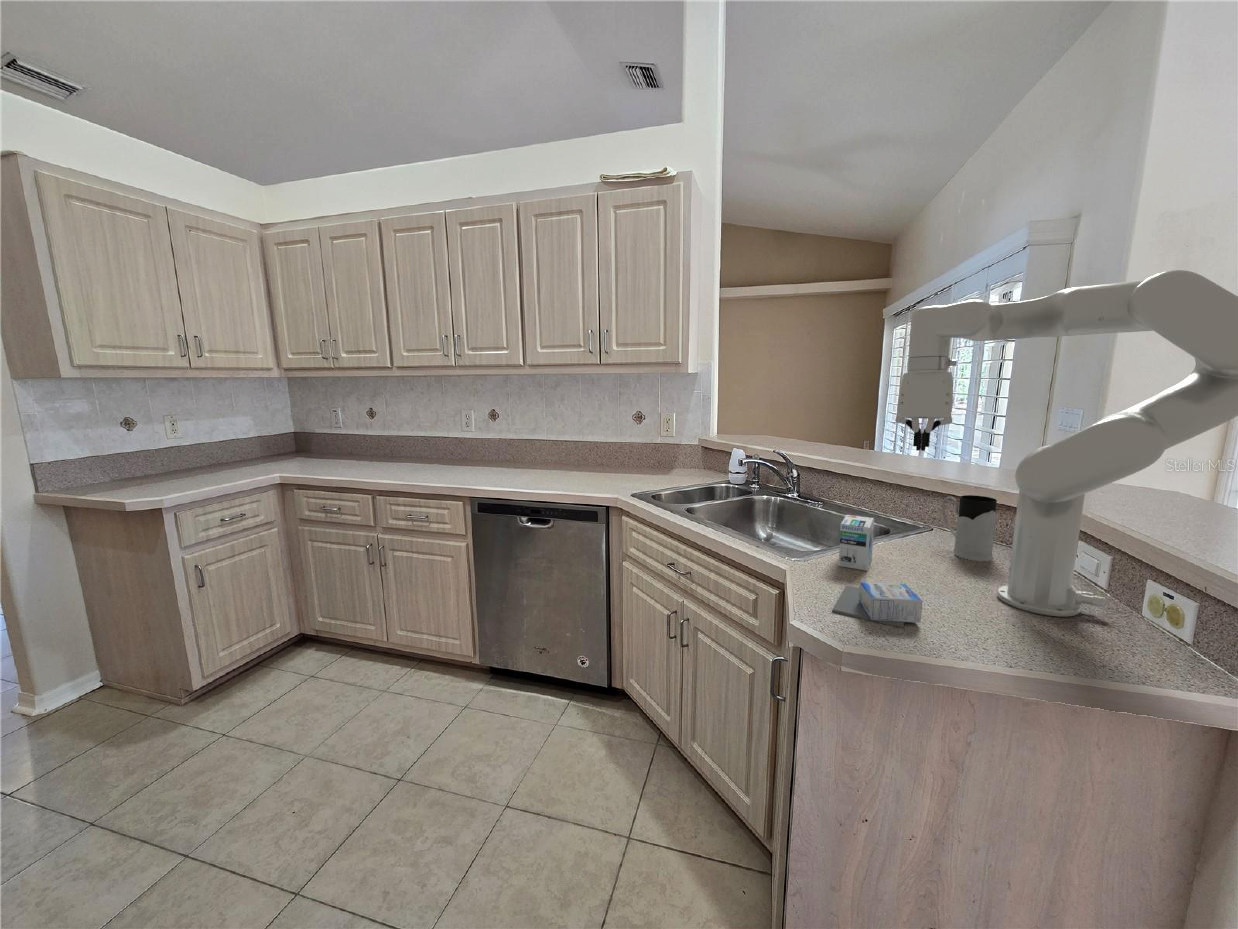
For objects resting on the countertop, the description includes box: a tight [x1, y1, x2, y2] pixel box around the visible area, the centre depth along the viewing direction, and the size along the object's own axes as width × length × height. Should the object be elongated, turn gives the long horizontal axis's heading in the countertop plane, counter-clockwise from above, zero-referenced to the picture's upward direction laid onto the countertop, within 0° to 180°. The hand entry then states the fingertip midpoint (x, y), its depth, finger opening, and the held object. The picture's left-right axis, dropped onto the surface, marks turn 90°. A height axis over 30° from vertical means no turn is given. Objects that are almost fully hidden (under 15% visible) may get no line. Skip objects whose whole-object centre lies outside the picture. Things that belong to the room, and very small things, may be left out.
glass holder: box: [941, 494, 998, 562], centre depth 127 cm, size 9×14×15 cm, turn 14°
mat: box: [831, 584, 906, 629], centre depth 97 cm, size 12×14×1 cm
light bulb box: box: [838, 514, 875, 572], centre depth 121 cm, size 11×7×11 cm, turn 148°
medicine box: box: [858, 581, 923, 624], centre depth 93 cm, size 8×4×9 cm
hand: (920, 449), depth 109 cm, fingers closed
